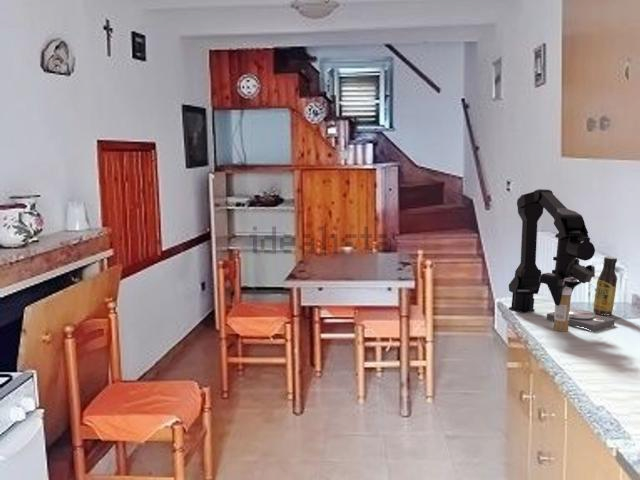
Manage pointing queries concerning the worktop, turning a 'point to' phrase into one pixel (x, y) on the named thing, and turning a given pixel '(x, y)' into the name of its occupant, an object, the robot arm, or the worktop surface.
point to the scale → (588, 322)
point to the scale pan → (580, 314)
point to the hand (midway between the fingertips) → (561, 304)
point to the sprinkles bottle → (563, 311)
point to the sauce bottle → (606, 288)
